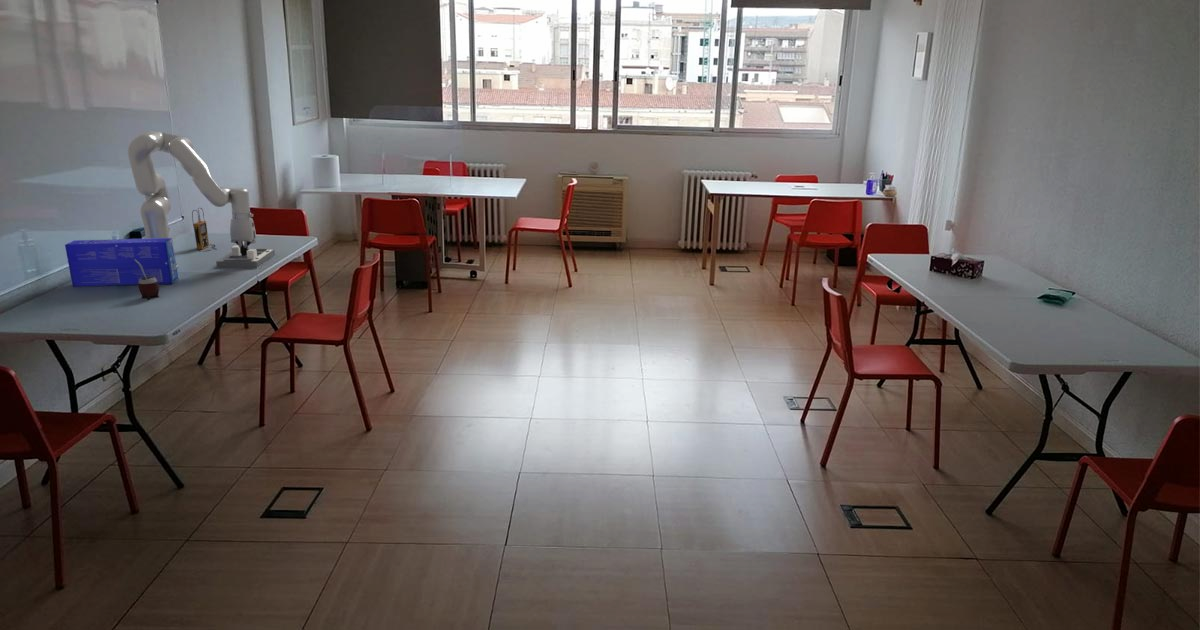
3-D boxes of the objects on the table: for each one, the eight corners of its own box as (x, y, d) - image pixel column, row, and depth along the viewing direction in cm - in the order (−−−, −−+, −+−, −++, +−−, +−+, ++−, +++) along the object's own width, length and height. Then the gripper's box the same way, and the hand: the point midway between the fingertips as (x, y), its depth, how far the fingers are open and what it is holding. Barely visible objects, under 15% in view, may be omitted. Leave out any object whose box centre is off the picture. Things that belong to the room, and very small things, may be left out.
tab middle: (238, 255, 377) (237, 247, 376) (232, 255, 377) (231, 247, 376) (242, 253, 381) (241, 245, 380) (235, 253, 381) (234, 245, 380)
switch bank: (257, 268, 369) (256, 260, 368) (216, 267, 369) (215, 260, 367) (274, 255, 392) (274, 248, 391) (236, 255, 391) (235, 247, 390)
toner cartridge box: (179, 279, 349) (173, 237, 344) (172, 284, 342) (166, 242, 336) (80, 281, 343) (73, 239, 337) (72, 287, 335) (63, 243, 330)
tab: (254, 259, 371) (253, 251, 370) (247, 259, 371) (246, 251, 370) (257, 257, 375) (256, 249, 374) (250, 257, 375) (249, 249, 374)
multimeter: (213, 252, 397) (208, 211, 390) (193, 251, 397) (187, 211, 391) (227, 245, 411) (222, 206, 404) (207, 244, 411) (202, 205, 405)
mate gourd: (158, 299, 321) (152, 262, 317) (135, 300, 319) (129, 263, 314) (162, 294, 328) (156, 258, 323) (140, 295, 326) (134, 259, 321)
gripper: (261, 215, 371) (263, 254, 377) (227, 213, 370) (230, 252, 376) (255, 218, 364) (258, 257, 369) (221, 216, 363) (224, 256, 368)
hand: (244, 255), depth 372 cm, fingers closed
